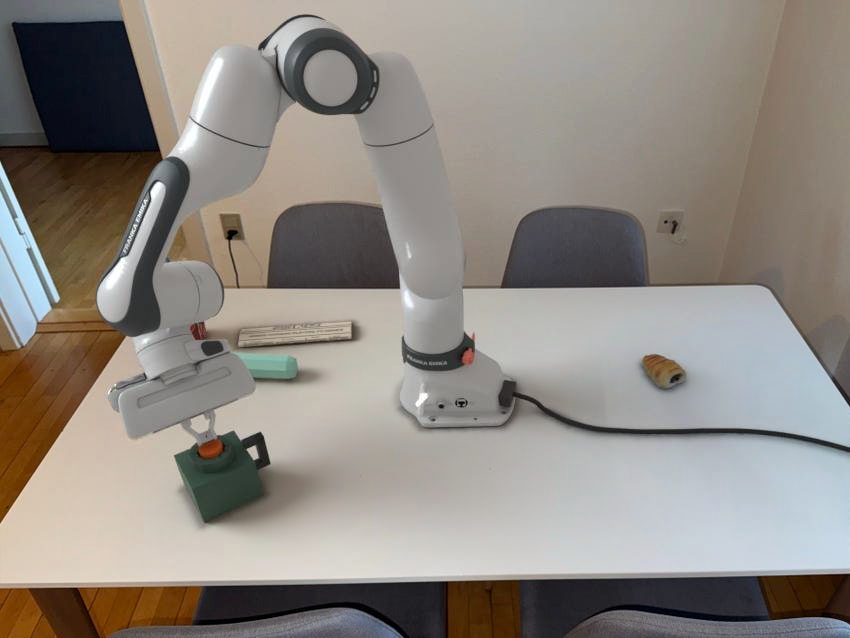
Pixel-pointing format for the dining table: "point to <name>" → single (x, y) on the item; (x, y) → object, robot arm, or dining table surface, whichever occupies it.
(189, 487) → the button housing
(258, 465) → the jug handle
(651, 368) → the pastry
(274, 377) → the container
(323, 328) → the newspaper
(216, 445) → the button
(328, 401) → the dining table surface
